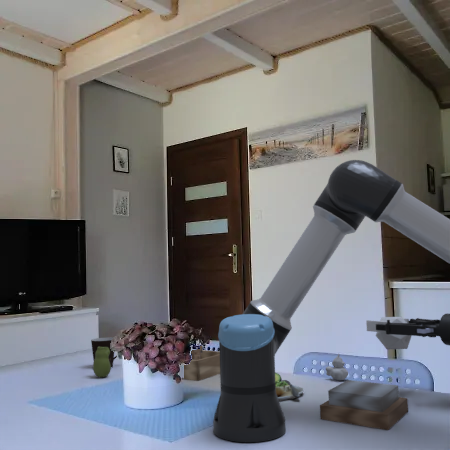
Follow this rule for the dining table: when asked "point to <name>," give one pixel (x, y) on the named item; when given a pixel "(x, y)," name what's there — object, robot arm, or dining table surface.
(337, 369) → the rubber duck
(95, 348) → the coffee mug
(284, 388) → the salad plate
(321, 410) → the plinth
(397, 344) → the die
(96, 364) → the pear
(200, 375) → the figurine cradle
